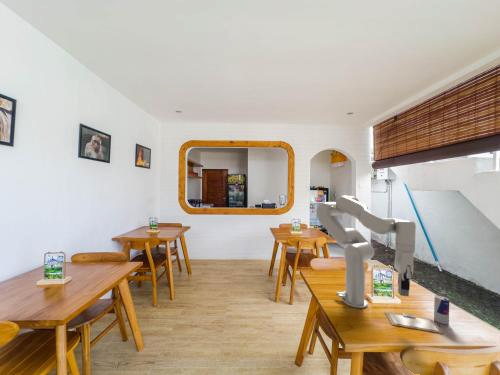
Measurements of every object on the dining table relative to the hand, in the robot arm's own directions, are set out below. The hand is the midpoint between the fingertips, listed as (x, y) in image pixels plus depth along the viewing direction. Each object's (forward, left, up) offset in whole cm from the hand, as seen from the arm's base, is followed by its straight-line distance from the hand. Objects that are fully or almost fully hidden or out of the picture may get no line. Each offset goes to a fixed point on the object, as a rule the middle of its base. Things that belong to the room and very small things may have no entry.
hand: (403, 287), depth 106 cm
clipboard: (+5, +3, -17) cm, 18 cm away
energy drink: (+18, +7, -17) cm, 26 cm away
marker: (0, 0, -3) cm, 3 cm away
